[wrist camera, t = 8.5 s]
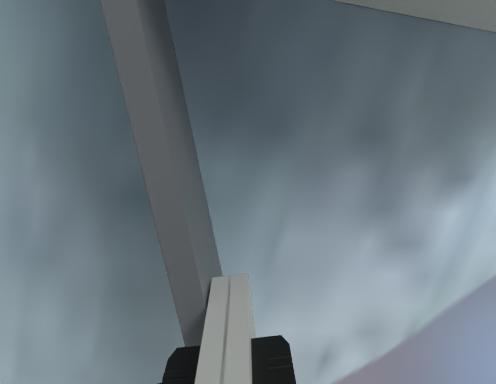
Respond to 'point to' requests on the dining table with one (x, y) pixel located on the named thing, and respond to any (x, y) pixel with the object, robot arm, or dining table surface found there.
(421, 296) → the dining table surface
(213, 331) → the robot arm
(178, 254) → the side door
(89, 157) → the dining table surface
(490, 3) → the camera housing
